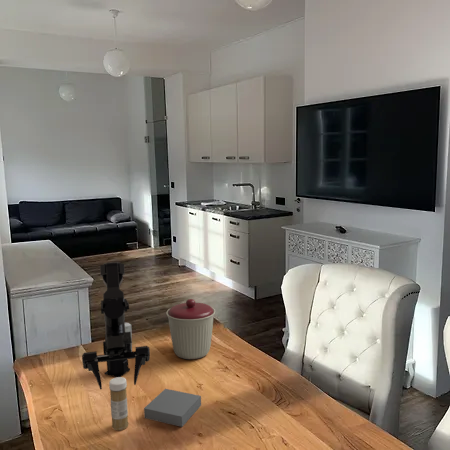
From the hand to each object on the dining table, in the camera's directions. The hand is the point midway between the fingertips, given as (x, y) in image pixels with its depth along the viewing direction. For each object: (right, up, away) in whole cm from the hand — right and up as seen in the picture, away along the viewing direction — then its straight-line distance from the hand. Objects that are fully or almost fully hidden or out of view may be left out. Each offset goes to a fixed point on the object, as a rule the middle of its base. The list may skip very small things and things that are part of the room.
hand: (118, 386), depth 130 cm
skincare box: (-8, -4, +44) cm, 45 cm away
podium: (+15, -9, +6) cm, 18 cm away
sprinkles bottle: (+1, -11, -1) cm, 11 cm away
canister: (+17, -4, +45) cm, 49 cm away
